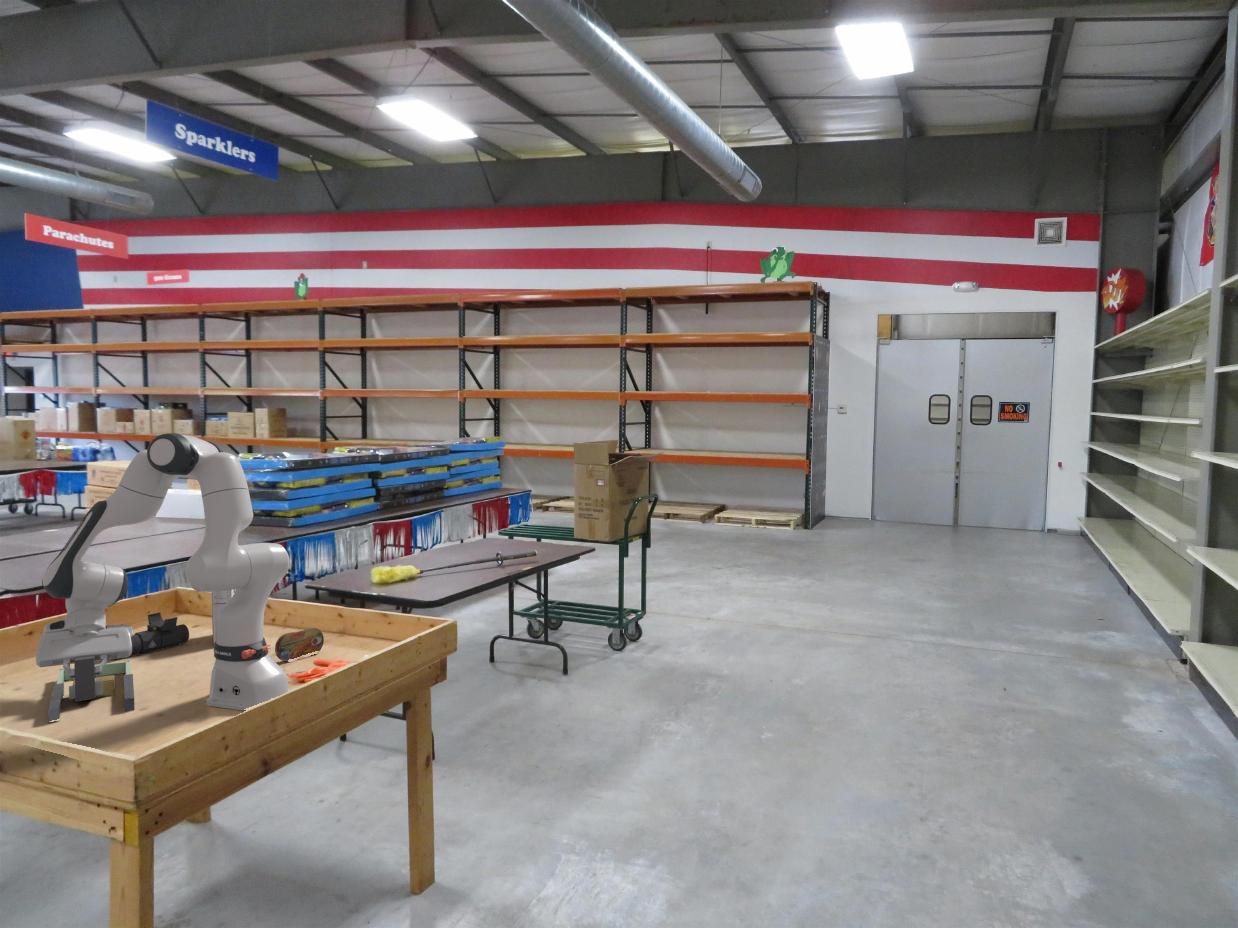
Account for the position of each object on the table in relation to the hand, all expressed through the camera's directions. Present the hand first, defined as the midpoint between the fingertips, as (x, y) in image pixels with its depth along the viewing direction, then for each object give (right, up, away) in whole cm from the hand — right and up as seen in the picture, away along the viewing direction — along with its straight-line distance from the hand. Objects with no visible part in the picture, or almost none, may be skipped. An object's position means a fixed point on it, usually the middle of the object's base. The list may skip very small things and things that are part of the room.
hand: (85, 675), depth 196 cm
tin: (+37, -5, +39) cm, 55 cm away
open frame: (-7, -6, +14) cm, 16 cm away
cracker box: (+7, -4, +56) cm, 56 cm away
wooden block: (-3, -6, +4) cm, 8 cm away
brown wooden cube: (+1, -6, +6) cm, 9 cm away
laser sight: (-9, -4, +43) cm, 44 cm away
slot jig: (+2, -7, 0) cm, 7 cm away
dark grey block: (+1, -5, -1) cm, 6 cm away
